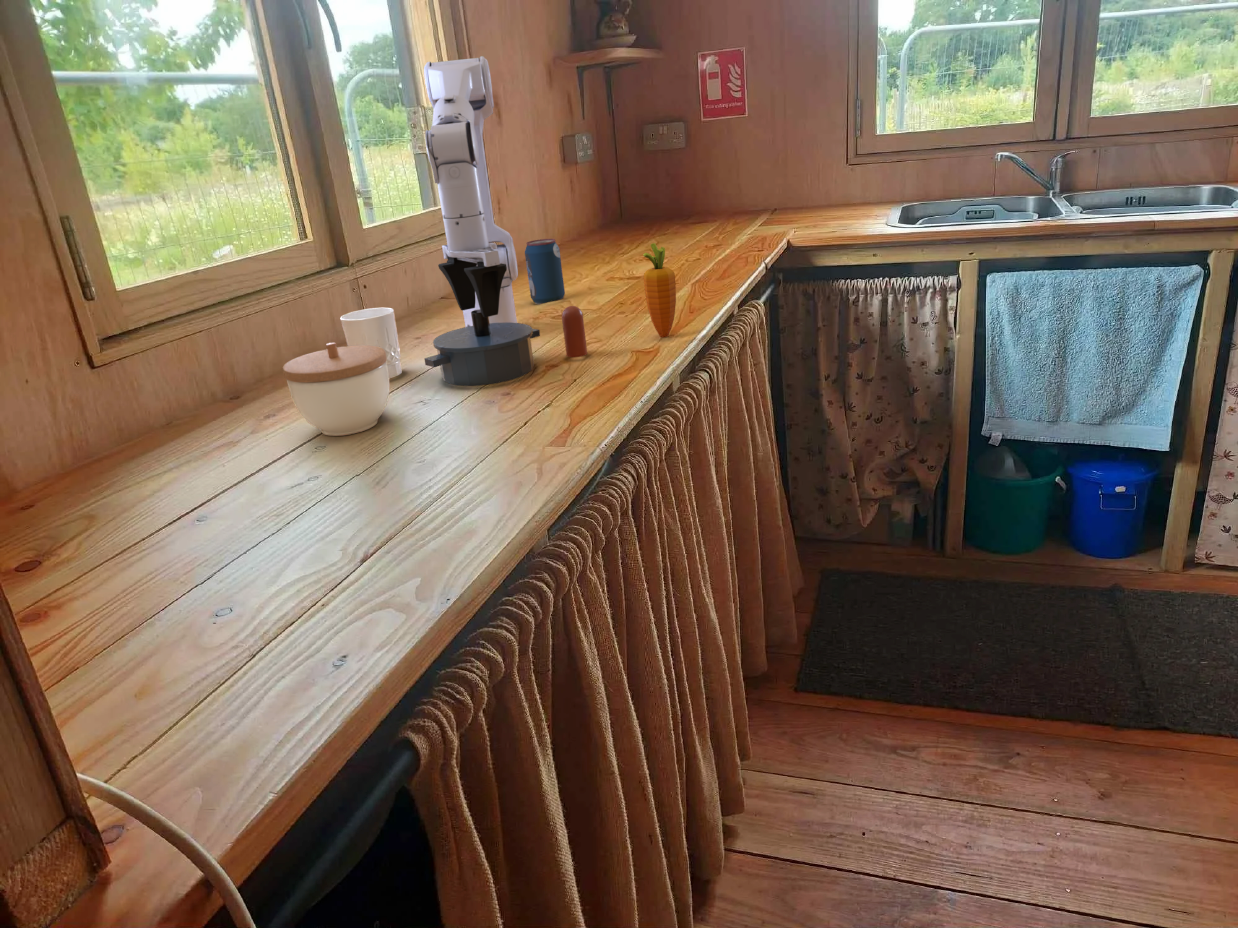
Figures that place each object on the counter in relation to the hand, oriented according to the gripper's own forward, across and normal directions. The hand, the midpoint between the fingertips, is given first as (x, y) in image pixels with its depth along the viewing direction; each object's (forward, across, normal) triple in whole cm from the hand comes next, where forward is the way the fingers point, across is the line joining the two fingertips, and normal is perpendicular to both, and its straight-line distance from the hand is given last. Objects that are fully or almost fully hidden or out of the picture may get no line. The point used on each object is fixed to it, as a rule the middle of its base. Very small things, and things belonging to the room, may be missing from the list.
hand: (479, 312), depth 126 cm
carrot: (+10, -6, -28) cm, 30 cm away
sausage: (+9, -3, -14) cm, 17 cm away
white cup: (+10, +13, +12) cm, 20 cm away
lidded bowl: (+10, -6, +23) cm, 26 cm away
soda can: (+10, +39, -33) cm, 52 cm away
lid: (+4, 0, 0) cm, 4 cm away
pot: (+9, 0, 0) cm, 9 cm away
